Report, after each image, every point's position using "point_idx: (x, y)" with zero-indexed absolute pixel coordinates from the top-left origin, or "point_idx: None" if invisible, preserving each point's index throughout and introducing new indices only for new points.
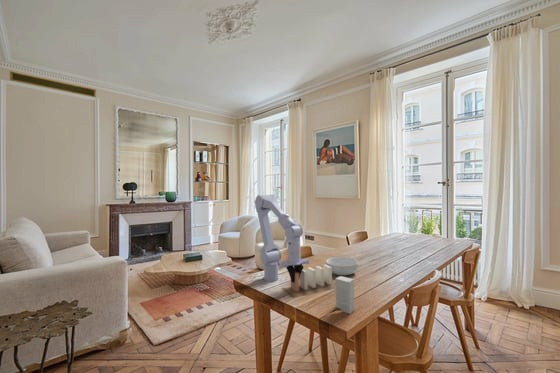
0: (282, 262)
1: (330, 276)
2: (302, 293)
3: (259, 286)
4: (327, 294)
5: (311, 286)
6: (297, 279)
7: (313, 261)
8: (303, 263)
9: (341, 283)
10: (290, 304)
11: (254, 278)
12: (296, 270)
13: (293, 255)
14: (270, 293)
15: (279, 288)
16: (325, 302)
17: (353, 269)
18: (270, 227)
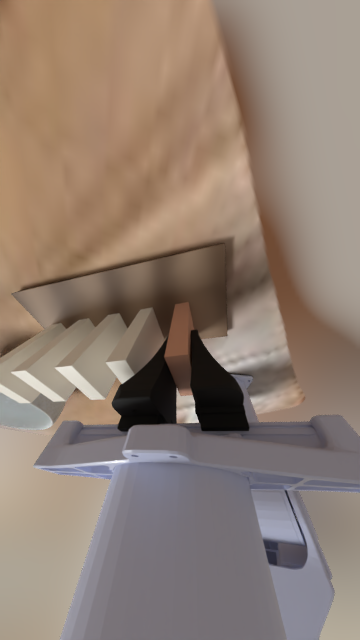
0: (317, 489)
1: (29, 342)
2: (168, 278)
3: (271, 369)
4: (70, 261)
5: (123, 323)
6: (177, 330)
7: None
8: (104, 430)
9: None
10: (252, 197)
11: (256, 402)
12: (170, 384)
13: None
14: (269, 324)
15: (224, 346)
16: (75, 167)
17: None
18: None
